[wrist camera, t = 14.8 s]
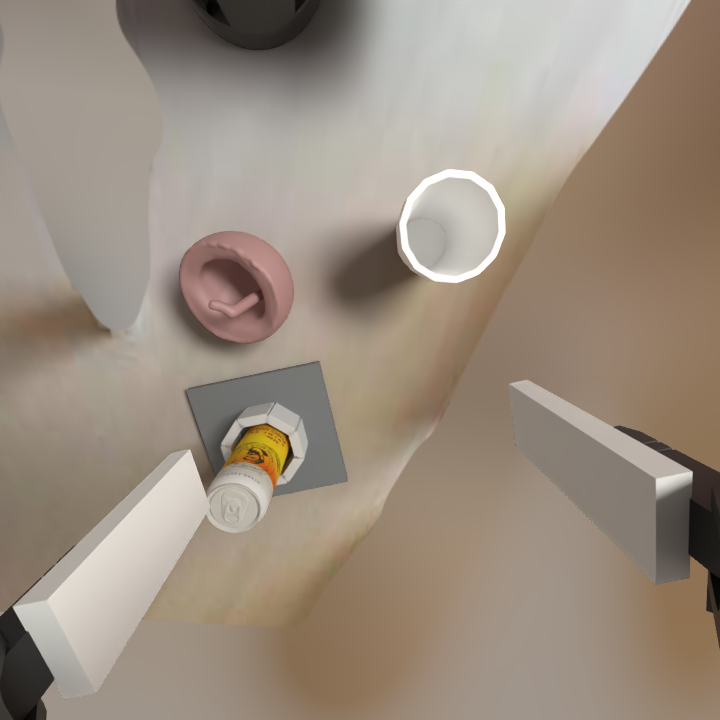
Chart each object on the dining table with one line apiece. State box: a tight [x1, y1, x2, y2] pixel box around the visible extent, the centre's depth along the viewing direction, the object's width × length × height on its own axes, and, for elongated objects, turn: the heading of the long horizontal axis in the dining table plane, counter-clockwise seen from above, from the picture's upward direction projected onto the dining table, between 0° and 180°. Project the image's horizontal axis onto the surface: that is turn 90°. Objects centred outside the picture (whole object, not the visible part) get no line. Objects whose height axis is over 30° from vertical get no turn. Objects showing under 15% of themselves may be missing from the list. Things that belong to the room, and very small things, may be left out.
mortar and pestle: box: [179, 231, 294, 344], centre depth 37 cm, size 12×12×11 cm
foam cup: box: [396, 169, 505, 283], centre depth 36 cm, size 10×9×13 cm
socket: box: [186, 361, 347, 497], centre depth 45 cm, size 18×18×5 cm
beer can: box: [206, 423, 291, 533], centre depth 39 cm, size 6×6×15 cm
